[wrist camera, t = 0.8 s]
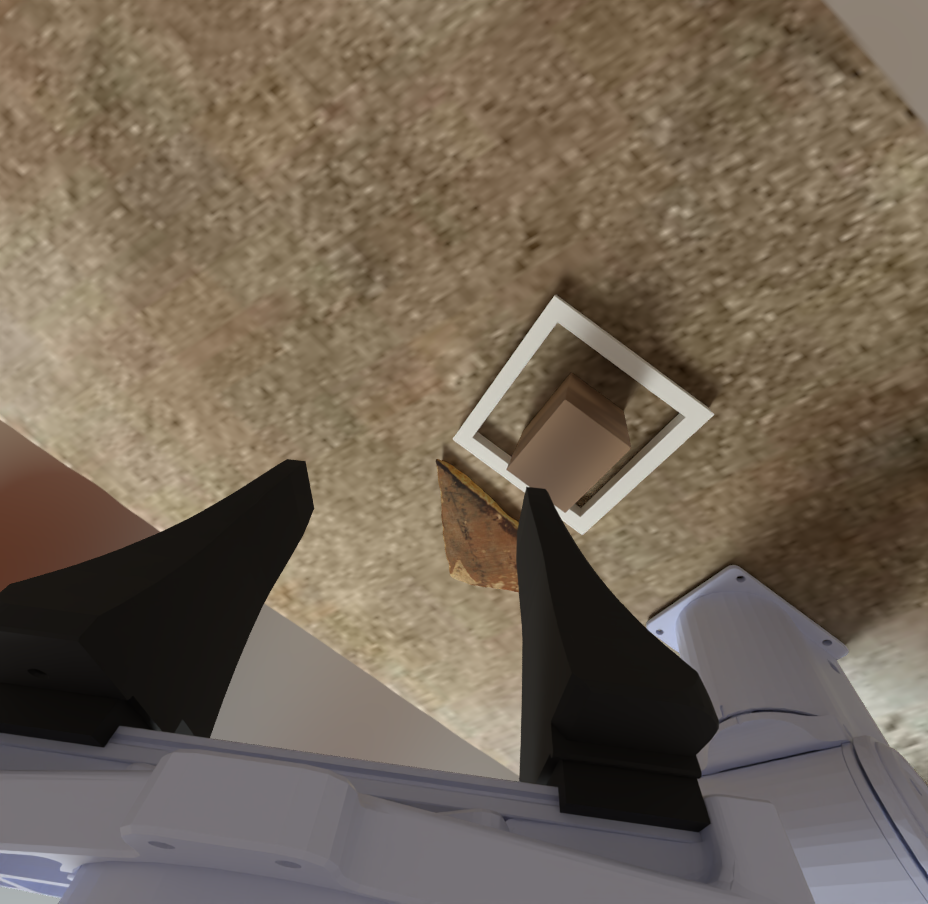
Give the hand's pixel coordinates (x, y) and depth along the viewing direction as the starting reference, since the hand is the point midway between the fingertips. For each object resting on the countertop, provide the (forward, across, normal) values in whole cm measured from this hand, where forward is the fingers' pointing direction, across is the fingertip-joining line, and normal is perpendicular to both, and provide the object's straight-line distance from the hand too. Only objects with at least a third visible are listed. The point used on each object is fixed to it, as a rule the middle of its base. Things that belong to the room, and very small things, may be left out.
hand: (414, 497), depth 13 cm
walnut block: (+13, -8, +4) cm, 16 cm away
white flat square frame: (+13, -8, +4) cm, 16 cm away
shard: (+13, -2, +15) cm, 20 cm away
